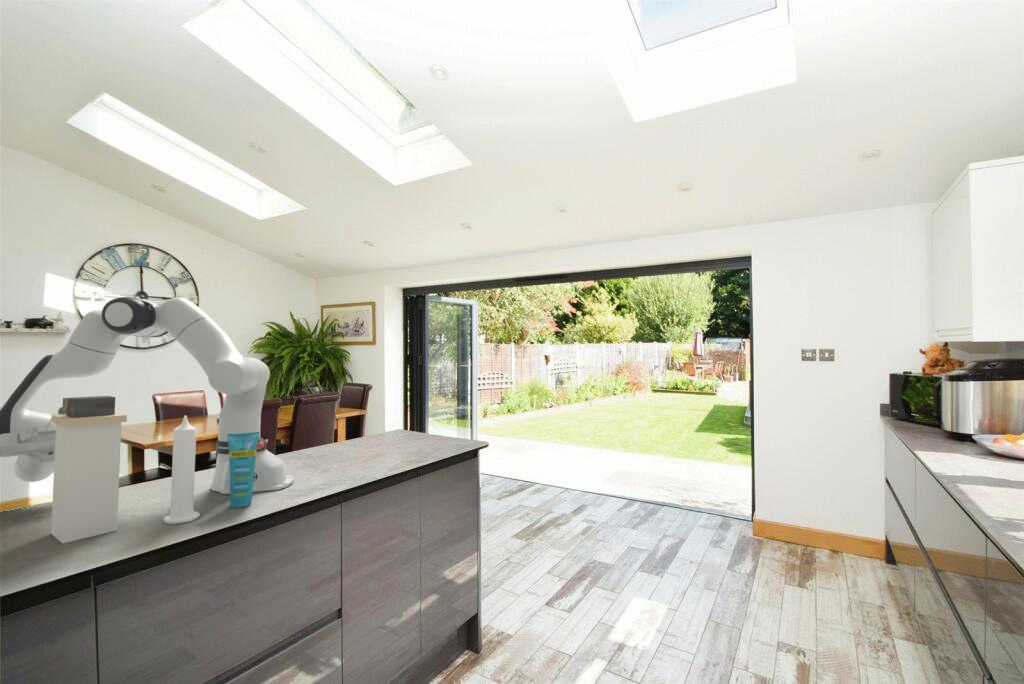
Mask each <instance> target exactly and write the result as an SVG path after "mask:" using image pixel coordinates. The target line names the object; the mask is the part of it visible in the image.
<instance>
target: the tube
mask: <svg viewBox="0 0 1024 684" xmlns="http://www.w3.org/2000/svg"><path fill="white" fill-rule="evenodd" d="M227 439H228V447H229V464H230V494H229V506H230V507H231V508H235V509H238V508H239V509H240V508H246V507H249V506H251V504H252V498H253V492H252V490H253V479H254V469H255V460H256V452H257V445H258V439H259V432H251V433H240V434H227Z"/></svg>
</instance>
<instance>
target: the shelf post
mask: <svg viewBox="0 0 1024 684" xmlns="http://www.w3.org/2000/svg"><path fill="white" fill-rule="evenodd" d="M127 416H128V415H127V414H124V413H120V412H115V415H105V416H92V417H79V418H72V417H68V416H67V413H61V414H56V415H52V418H51V422H54V423H56V438H55V460H54V472H53V486H52V487H53V488H52V506H51V508H52V509H51V526H50V527H51V528H50V531H51V532H50V534H51V535H52V536H53V537H54V538H55V539H56V540H58V541H59V542H60V543H61V544H66V543H67V544H68V543H69V542H74V541H79V540H83V539H87V538H91V537H95V536H101V535H104V534H108V533H112V532H116V531H117V530H118V518H119V517H118V513H119V512H118V511H119V493H120V492H119V489H120V487H119V486H120V468H121V467H120V466H121V465H120V464H121V445H122V444H121V441H122V436H121V435H122V423H126V422H127V421H128V420H127V418H128V417H127Z"/></svg>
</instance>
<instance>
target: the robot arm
mask: <svg viewBox="0 0 1024 684" xmlns="http://www.w3.org/2000/svg"><path fill="white" fill-rule="evenodd" d="M167 334H170V335H171V336H172V338H173V339H175V340H176V341H177V342H178V343H179V345H181V346H182V347H183V348H184V350H186V351H187V352H188V353H189V354H190V355H191V356H192V357H193V358H194V359H195V361H197V363H198V364H199V365H200V367H201V369H202V370H203V372H204V373H205V374H206V376H207V378H208V383H209V385H210V387H211V388H212V389H213V390H215V391H216V392H218V393H220V394H223V395H226V396H225V399H224V403H223V406H222V408H221V410H220V412H219V415H218V433H217V434H218V435H217V437H218V439H217V440H216V444H215V458H216V464H215V469H214V470H215V471H214V473H213V478H212V482H211V484H210V487H209V489H210V490H211V491H213V492H218V493H220V494H221V495H230V464H229V447H228V439H227V434H240V433H251V432H259V439H258V445H257V452H256V460H255V469H254V479H253V490H252V493H256V492H268V491H269V492H270V491H279V490H282V488H283V489H285V488H288V487H289V486H291V485H292V484H293V483H294V482H293V481H295V477H294V476H293V475H292V474H288V472H287V468H286V467H287V466H286V463H285V462H284V460H283V459H281V458H280V457H278V456H277V455H275V453H274V454H273V453H272V452H271V451H269V450H268V449H267V444H268V443H269V442H268V440H269V439H268V438H267V439H264V438H263V437H262V436H261V424H262V423H261V422H262V420H261V419H262V411H263V404H264V399H265V395H266V389H267V384H268V382H269V380H270V377H271V376H270V375H271V371H270V368H269V367H268V364H266V363H265V362H263V361H262V360H260V359H258V358H255V357H246V356H244V355H242V354H241V353H240V352H239V350H238V349H237V348H236V347H235V344H234V343H233V342H232V339H231V337H230V335H229V334H228V333H227V332H226V331H225V330H224V329H223V328H222V327H221V326H220V325H219V324H218V323H217V322H216V321H215V320H214V319H213V318H212V317H210V316H209V315H208V314H207V313H206V312H205V311H204V310H203V309H201V308H200V307H199V306H198V305H196V304H195V303H193V302H192V301H190V300H189V299H188V298H186V297H181V296H180V297H179V296H177V297H176V296H175V297H172V298H170V299H168V300H165V301H164V302H162V303H161V304H160V303H155V302H153V301H150V300H148V299H143V298H136V297H130V296H125V297H123V296H122V297H116V298H113V299H112V300H111V299H110V300H109V301H108V302H107V303H106V304H104V305H103V307H102V309H98V310H92V311H89V312H88V313H86V314H85V315H84V317H83V318H82V319H81V320H80V321H79V323H78V324H77V326H76V327H75V329H74V330H73V332H72V334H70V335H71V336H70V337H69V338H68V341H67V343H66V344H65V346H63V348H62V349H60V350H59V351H58V352H55V353H54V354H46V356H44V357H42V358H41V359H40V360H39V361H38V362H37V363H36V364H35V365H34V367H33V368H32V369H31V370H30V372H28V374H27V375H26V376H25V377H24V378H23V380H22V381H21V382H20V383H19V385H18V386H17V387H16V388H15V390H14V391H13V392H12V393H11V395H10V396H8V397H9V398H8V399H7V401H5V403H4V404H3V405H2V406H1V407H0V458H10V457H17V458H16V460H15V462H14V468H13V471H14V472H13V473H14V476H16V478H17V479H19V480H20V481H23V482H28V483H36V482H40V481H43V480H46V479H47V478H48V477H50V476H52V475H53V474H54V460H55V438H56V423H54V422H51V418H52V415H57V413H56V414H55V413H53V414H52V413H47V412H42V411H41V412H40V411H36V410H30V409H27V408H26V406H27V405H28V404H29V402H30V401H31V400H32V398H33V397H34V396H35V395H36V393H37V392H39V389H40V388H41V387H42V386H43V385H44V384H46V383H48V382H51V381H55V380H58V379H59V380H60V379H71V378H72V379H74V378H86V377H90V376H95V375H98V374H100V373H102V372H104V371H105V370H108V368H109V367H110V365H111V364H112V362H113V361H114V359H115V357H116V355H117V353H118V350H119V348H120V346H121V344H122V343H123V341H124V340H125V339H126V338H128V337H131V336H134V337H139V338H140V337H141V338H159V337H162V336H165V335H167ZM290 484H291V485H290Z"/></svg>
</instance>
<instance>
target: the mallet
mask: <svg viewBox="0 0 1024 684" xmlns="http://www.w3.org/2000/svg"><path fill="white" fill-rule="evenodd" d="M61 408H62V411H63V412H66V414H67V416H68V417H72V418H79V417H92V416H105V415H115V411H116V396H112V395H111V396H110V395H100V396H99V395H98V396H78V397H77V396H76V397H75V396H74V397H62V407H61Z"/></svg>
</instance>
